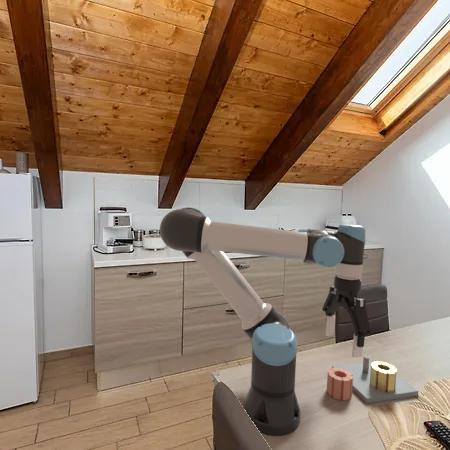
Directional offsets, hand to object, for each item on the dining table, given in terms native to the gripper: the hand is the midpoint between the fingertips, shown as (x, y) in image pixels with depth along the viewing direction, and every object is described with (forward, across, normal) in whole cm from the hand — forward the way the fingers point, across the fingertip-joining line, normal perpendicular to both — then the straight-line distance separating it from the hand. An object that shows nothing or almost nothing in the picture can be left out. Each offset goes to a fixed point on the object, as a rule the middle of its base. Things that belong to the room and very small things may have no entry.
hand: (342, 345), depth 97 cm
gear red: (+15, -1, 0) cm, 15 cm away
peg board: (+14, +2, -14) cm, 20 cm away
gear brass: (+13, -3, -14) cm, 19 cm away
